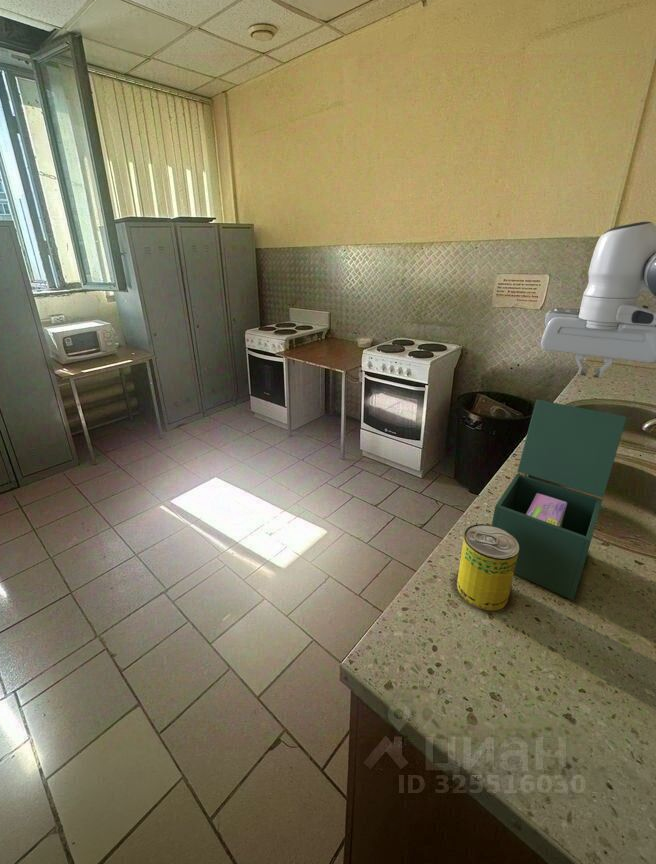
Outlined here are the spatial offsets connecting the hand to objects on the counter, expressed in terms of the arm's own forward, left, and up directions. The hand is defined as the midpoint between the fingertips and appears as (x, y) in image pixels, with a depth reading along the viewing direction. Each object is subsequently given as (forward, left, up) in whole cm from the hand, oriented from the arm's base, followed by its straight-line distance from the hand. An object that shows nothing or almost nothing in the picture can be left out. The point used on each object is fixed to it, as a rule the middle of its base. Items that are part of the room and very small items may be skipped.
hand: (589, 375), depth 84 cm
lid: (+6, +8, -13) cm, 16 cm away
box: (+12, +17, -34) cm, 40 cm away
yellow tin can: (+25, +26, -35) cm, 51 cm away
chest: (+11, +16, -35) cm, 40 cm away
